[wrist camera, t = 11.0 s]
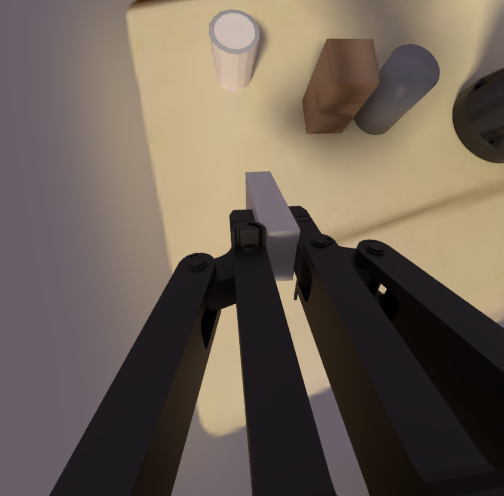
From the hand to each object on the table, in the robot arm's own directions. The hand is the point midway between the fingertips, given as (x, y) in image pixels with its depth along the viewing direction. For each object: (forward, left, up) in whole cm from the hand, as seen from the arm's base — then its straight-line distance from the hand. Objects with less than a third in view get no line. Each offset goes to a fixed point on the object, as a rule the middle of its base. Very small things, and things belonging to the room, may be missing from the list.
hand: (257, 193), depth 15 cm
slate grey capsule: (-24, -20, -20) cm, 37 cm away
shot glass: (-1, -27, -20) cm, 34 cm away
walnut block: (-15, -20, -20) cm, 32 cm away
